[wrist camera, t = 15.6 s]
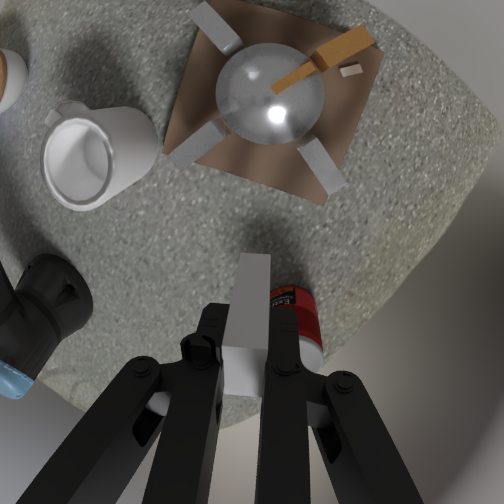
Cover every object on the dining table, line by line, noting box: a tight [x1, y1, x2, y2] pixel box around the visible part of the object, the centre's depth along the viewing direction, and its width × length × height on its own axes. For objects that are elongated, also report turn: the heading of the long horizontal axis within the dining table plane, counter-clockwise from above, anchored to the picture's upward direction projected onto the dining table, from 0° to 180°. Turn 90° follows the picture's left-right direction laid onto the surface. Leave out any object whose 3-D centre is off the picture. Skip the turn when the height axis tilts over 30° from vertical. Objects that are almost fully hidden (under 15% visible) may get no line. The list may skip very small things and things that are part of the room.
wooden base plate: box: [162, 0, 384, 206], centre depth 29 cm, size 20×20×4 cm
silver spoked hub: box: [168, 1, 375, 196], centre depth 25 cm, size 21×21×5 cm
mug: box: [40, 100, 158, 211], centre depth 30 cm, size 14×10×11 cm
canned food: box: [269, 286, 323, 373], centre depth 39 cm, size 8×8×11 cm
